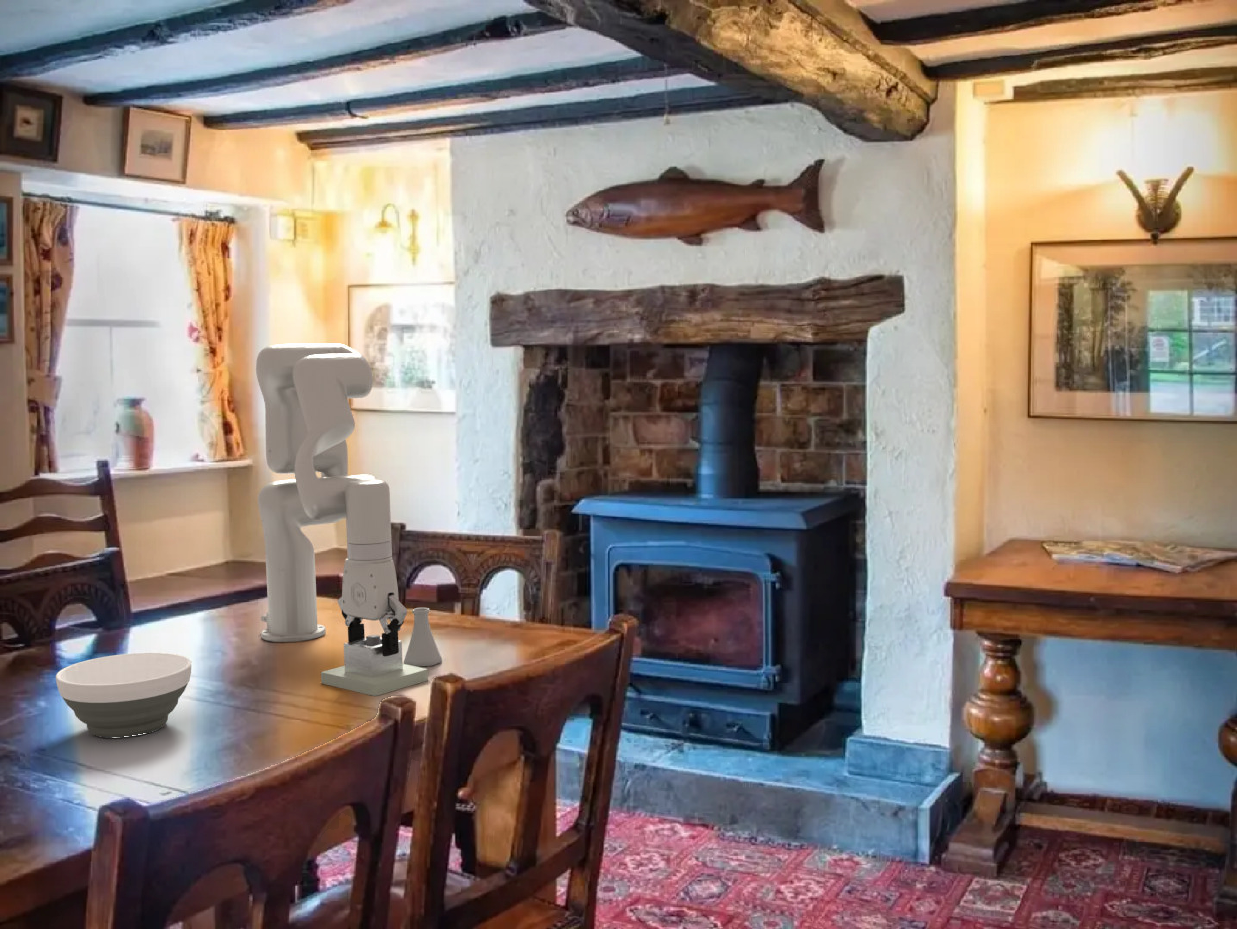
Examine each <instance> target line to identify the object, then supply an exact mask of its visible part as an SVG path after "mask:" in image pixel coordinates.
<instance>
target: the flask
mask: <svg viewBox="0 0 1237 929" xmlns="http://www.w3.org/2000/svg"><path fill="white" fill-rule="evenodd" d="M429 613H430V608H429V607H416V608H414V609H412V614H413V628H412V632H411V635H410V639H409V643H408V646H407V647H408V648H407V651H406V653H405V656H404V660H403V664H406V665H411V666H415V667H431V666H434V665H437V664H439V663H442V662H443V661H442V655H441V653H440V650H439V648H438V646H437V643H436V640H435V638H434V635H433V633H432V630H431V626H430V622H429V621H430V620H429Z"/></svg>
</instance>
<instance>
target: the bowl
mask: <svg viewBox="0 0 1237 929" xmlns="http://www.w3.org/2000/svg"><path fill="white" fill-rule="evenodd" d="M191 674H192V660H191V659H190V658H188V657H186V656H184V655H180V654H175V653H169V652H166V653H165V652H138V653H137V652H135V653H133V652H132V653H123V654H115V655H109V656H108V655H107V656H102V657H101V656H100V657H97V658H92V659H87V660H84V661H80V662H76V663H73V664H70V665H68V666H66V667H65V668H62V669H60V670H59V671H58V672H56V675H55V682H56V686H57V689H58V692H59V695H60V696H61V698H62V699H63V701H64V703H65V705H66V706H68V707H69V708H70V709H71V710H73V713H74V715H75V717H76V718H77V719H78V720H79V721H80V722H82V723H84V724H85V725H86V728H87V730H88V732H89V733H90V735H92V736H95V735H96V736H95V737H98V736H101V737H100V738H102V737H124V736H132V735H138V734H143V733H148V734H150V733H149V732H151V733H153V732H152V731H154V732H156V731H158V730H160V729H161V728H163V727H164V726H165V725H166V724H167V722H168V719H169V715H170V714H171V713H172V712H173V710H175V708H176V707H177V705H178V703H179V699H180V698H181V696H182V694H183V693H184V692H185V691H186V688H187V686H188V684H189V682H190V679H191ZM157 729H158V730H157ZM155 730H156V731H155Z"/></svg>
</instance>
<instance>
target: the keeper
mask: <svg viewBox="0 0 1237 929" xmlns="http://www.w3.org/2000/svg"><path fill="white" fill-rule="evenodd" d="M380 637H381V635H378V634H369V635H367V636H365V638H366V646H371V647H372V646H376V645H380ZM428 674H429V670H428V668H425V667H421V666H411V665H406V664H404V663H403V669H401V670H398V671H394V672H391V673H387V674H384V675H380V676H377V677H373V678H370V677H366V676H361V675H357V674H352V673H348V672H345V665H342V666H339V667H334V668H331V669H328V670H324V671H321V672H320V682H321V684H323V685H327V686H331V687H334V688H335V687H336V688H339V689H343V690H347V691H352V692H356V693H360V694H365V695H369V696H373V697H377V696H379V695H384V694H386V693H389V692H394V691H397V690H400V689H403V688H407V687H410V686H414V685H417V684H420V683H424V682H427V681H429V675H428Z"/></svg>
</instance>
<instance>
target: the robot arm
mask: <svg viewBox="0 0 1237 929" xmlns="http://www.w3.org/2000/svg"><path fill="white" fill-rule="evenodd" d="M255 362H256V363H255V364H256V366H255V372H256V379H257V382H258V386H259V389H260V391H261V395H262V397H263V401H264V408H265V409H264V410H265V418H264V419H265V422H264V423H265V425H264V426H265V458H266V463H267V466H268V468H269V470H270V471H272V472H273V473H275V474H278V475H279V474H280V475H292V474H293V475H294V478H291V479H281V480H275V481H271V482H269V483H267V484H266V485H264V486H263V487H262V488H260V491H259V493H258V496H257V506H258V510H259V516H260V520H261V525H262V531H263V539H264V549H265V550H264V552H265V554H264V555H265V570H266V573H265V574H266V590H267V591H266V594H267V612H266V614H263V615H261V616H260V621H262V622H265V623H266V628H265V629H263V630H262V631H261V633H260V634H261V635H260V637H261V639H263V640H264V641H267V642H275V643H294V642H301V641H309V640H315V639H318V638H320V637H322V636H324V635H325V634H326V631H327V630H326V626H325V625H322V624H318V609H317V608H318V604H317V584H316V582H317V581H316V563H315V562H316V561H315V560H316V559H315V548H314V546H313V543H312V541H311V540H310V539H309V538H308V536H307V535H305V533H304V532H303V531H302V530H301V528H303V527H309V526H316V525H326V524H327V525H328V524H329V525H330V524H334V523H337V522H340V521H342V520H344V519H345V521H346V522H345V523H346V528H345V529H346V548H347V552H346V553H347V558H345V560H344V564H343V572H342V589H341V590H342V591H341V596H340V597H339V599H337V604H338V606H339V609H340V610H341V615H342V617H343V618H344V623H345V624H344V625H345V626H346V627H347V643H348V642H352V641H356V640H360V639H364V638H366V636H365V635H366V634H365V624H364V623H362V622H363V620H369V621H379V623H380V625H381V627H382V630H383V631H384V632H383V633H381V637H382V655H383V656H390V655H394V654H397V653H398V652H399V645H398V640H399V632H400V631H401V627H402V625H403V624H404V623H405V619H406V617H407V614H408V609H407V607H405V606H404V605H403V604H402V602H401V601H400V599H399V588H398V587H399V586H398V580H397V573H396V567H395V563H394V559H393V549H392V548H393V546H392V544H393V543H392V522H391V519H392V518H391V495H390V494H391V492H390V487H389V483H387V482H386V480H382V479H378V478H377V477H376V476H374V475H372V474H353V475H349V473H348V471H349V464H348V463H349V457H348V456H349V455H348V444H347V440H346V439H348V438H349V437H350V436H351V435H352V434H353V432H354V431H355V427H356V423H355V418H354V415H353V412H352V410H351V409H352V408H351V406H350V403H349V400H348V399H362V398H366V397H368V395H369V394H371V391H372V389H373V385H374V384H373V383H374V380H373V378H374V377H373V372H372V368H371V365H370V364H369V362H368V361H367V358H366V357H365V356H364V355H362V353H360V352H358V351H357V350H355V349H354V348H351V347H350V346H347V345H345V344H342V343H336V342H335V343H333V342H332V343H325V342H324V343H283V344H280V343H279V344H272V345H269V346H265V347H264V348H262V349H261V350H260V351H259V353H258V355H257V357H256V361H255ZM317 473H320V477H318V475H317ZM388 621H389V622H388Z"/></svg>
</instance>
